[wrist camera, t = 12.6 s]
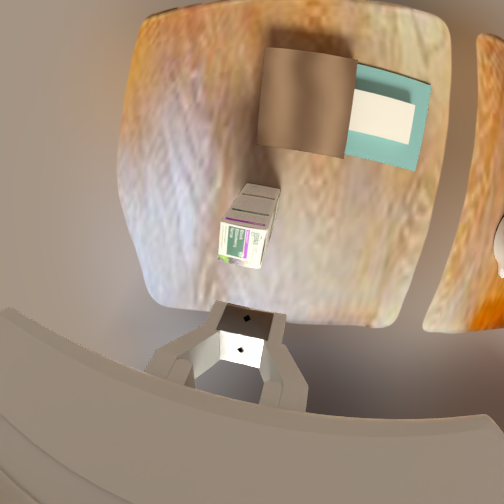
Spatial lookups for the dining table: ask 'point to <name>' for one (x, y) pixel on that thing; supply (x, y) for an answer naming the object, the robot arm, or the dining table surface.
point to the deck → (306, 101)
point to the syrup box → (248, 226)
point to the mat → (398, 90)
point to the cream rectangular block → (381, 116)
